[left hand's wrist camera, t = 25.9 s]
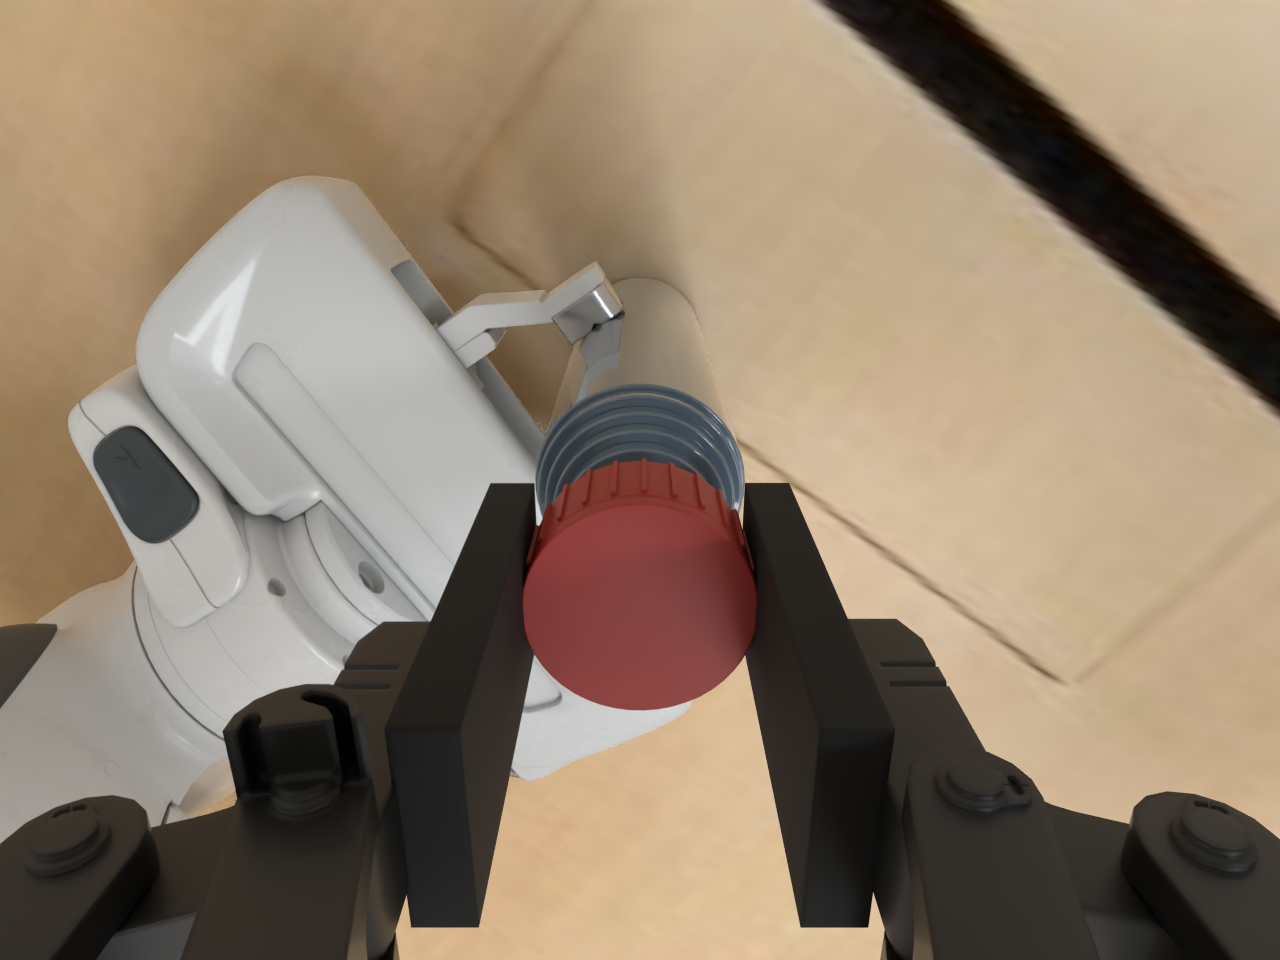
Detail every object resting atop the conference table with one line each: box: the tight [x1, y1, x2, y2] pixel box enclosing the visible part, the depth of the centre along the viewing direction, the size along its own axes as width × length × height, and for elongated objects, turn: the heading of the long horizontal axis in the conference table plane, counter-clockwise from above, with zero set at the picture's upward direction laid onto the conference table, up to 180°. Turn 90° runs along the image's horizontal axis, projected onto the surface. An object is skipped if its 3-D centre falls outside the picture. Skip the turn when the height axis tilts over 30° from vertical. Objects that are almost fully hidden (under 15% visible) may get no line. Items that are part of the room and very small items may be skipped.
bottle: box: [535, 277, 745, 518], centre depth 23 cm, size 4×4×19 cm
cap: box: [523, 458, 757, 711], centre depth 14 cm, size 4×4×2 cm
